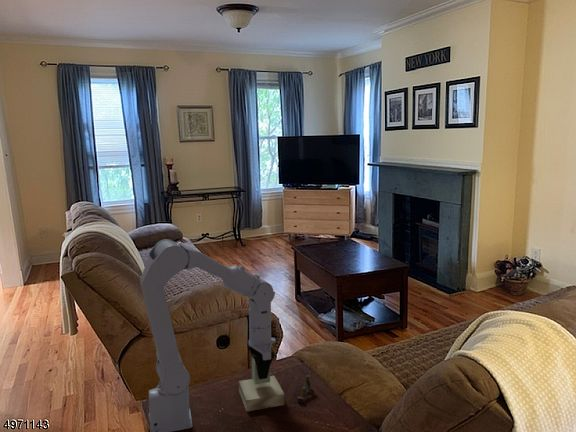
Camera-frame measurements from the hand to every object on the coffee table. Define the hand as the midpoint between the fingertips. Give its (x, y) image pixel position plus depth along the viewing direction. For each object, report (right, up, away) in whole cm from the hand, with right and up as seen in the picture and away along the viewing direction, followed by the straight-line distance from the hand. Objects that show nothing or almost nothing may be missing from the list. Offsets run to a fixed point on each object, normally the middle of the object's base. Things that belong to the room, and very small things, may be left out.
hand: (260, 374), depth 113 cm
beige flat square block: (0, -7, +1) cm, 7 cm away
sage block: (0, -2, 0) cm, 2 cm away
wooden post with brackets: (+11, -7, +2) cm, 14 cm away
